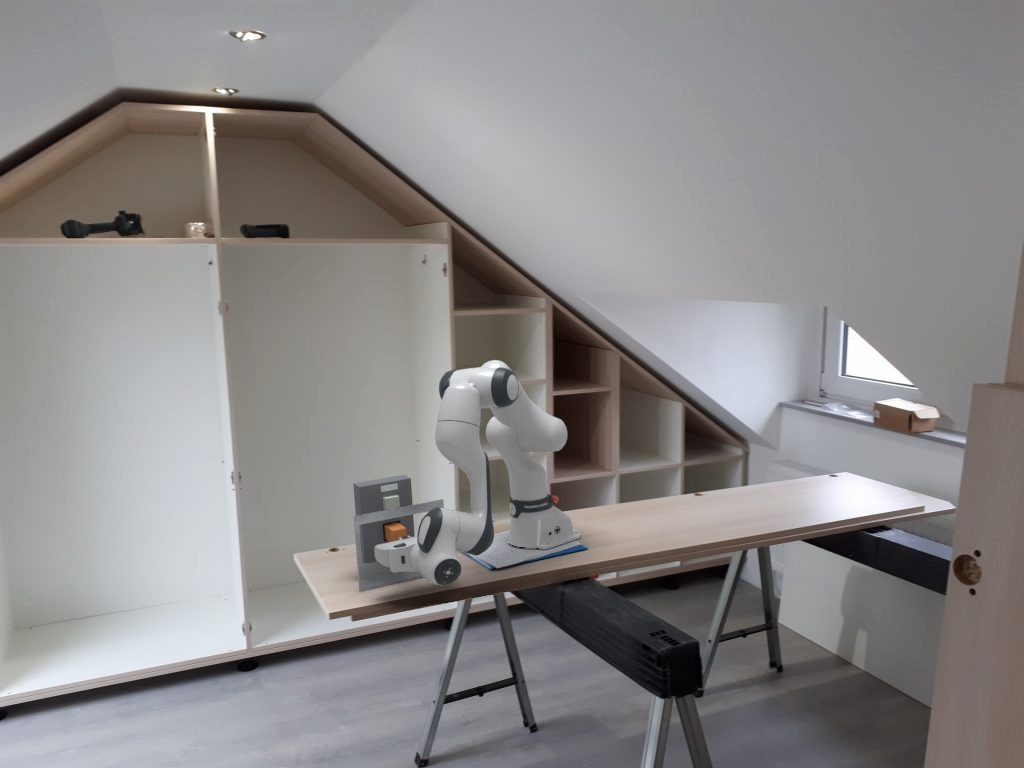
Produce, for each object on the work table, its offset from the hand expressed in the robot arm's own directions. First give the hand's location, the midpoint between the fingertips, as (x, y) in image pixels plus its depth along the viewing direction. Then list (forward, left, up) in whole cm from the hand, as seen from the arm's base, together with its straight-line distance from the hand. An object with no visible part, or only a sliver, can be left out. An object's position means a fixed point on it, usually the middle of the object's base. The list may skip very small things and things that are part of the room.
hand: (403, 539), depth 227 cm
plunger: (0, -6, -2) cm, 6 cm away
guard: (0, -5, -12) cm, 13 cm away
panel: (+1, -11, -12) cm, 16 cm away
